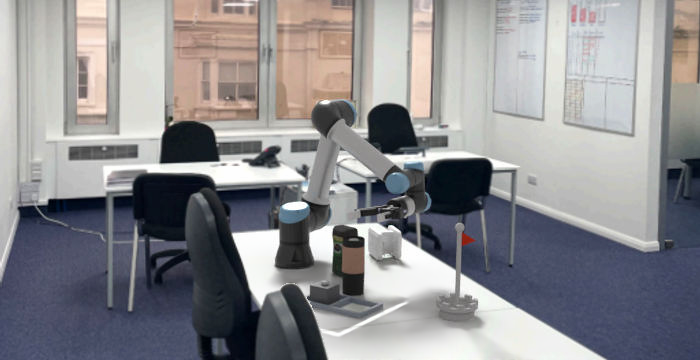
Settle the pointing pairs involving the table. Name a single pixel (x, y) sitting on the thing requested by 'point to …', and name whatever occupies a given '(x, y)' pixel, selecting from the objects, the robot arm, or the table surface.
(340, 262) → the coffee jar
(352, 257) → the travel mug
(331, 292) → the seated block
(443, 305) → the flag stand
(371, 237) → the cable organizer
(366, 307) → the dock
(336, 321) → the table surface
